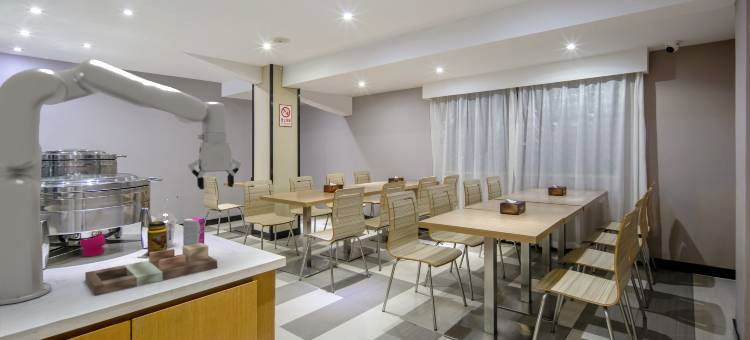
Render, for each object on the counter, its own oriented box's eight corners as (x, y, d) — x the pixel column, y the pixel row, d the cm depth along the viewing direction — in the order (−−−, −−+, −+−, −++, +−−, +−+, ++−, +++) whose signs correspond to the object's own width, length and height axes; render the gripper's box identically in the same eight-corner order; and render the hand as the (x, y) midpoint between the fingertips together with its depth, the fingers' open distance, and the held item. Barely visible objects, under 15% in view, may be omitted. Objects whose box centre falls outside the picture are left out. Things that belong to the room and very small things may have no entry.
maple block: (189, 262, 117) (189, 249, 116) (182, 257, 121) (182, 246, 120) (208, 258, 121) (208, 246, 121) (201, 254, 125) (201, 242, 125)
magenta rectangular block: (85, 258, 127) (83, 201, 126) (77, 254, 131) (75, 199, 130) (109, 253, 133) (107, 199, 132) (100, 250, 137) (98, 197, 136)
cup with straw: (169, 242, 149) (168, 194, 148) (183, 245, 145) (182, 195, 144) (148, 247, 142) (147, 196, 140) (162, 250, 137) (161, 198, 136)
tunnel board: (199, 257, 129) (199, 242, 129) (217, 267, 119) (217, 251, 118) (85, 280, 106) (84, 262, 106) (94, 295, 96) (94, 275, 95)
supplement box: (198, 249, 139) (197, 220, 139) (182, 249, 139) (182, 220, 139) (205, 245, 145) (204, 217, 144) (190, 245, 145) (190, 217, 145)
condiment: (163, 257, 129) (162, 224, 129) (137, 258, 128) (136, 224, 127) (171, 251, 137) (171, 220, 136) (147, 252, 135) (146, 220, 135)
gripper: (190, 138, 117) (192, 191, 118) (243, 138, 128) (245, 186, 129) (184, 138, 122) (186, 189, 124) (235, 138, 134) (237, 185, 135)
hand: (216, 187), depth 127 cm, fingers open, 9 cm apart
